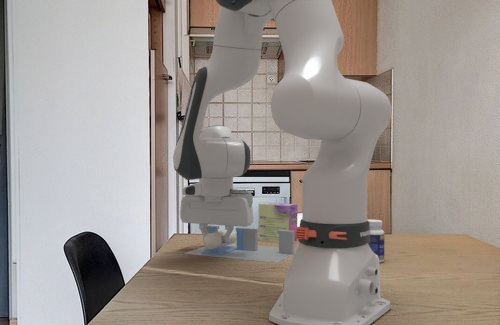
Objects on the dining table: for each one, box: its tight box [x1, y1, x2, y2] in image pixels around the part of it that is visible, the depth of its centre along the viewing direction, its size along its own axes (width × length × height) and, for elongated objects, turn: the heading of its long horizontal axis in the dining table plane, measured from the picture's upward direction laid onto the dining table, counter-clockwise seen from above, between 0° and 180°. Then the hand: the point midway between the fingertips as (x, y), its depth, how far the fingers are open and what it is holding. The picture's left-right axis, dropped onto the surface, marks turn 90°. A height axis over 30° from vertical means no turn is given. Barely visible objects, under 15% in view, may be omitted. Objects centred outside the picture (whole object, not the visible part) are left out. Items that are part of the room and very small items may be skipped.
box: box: [257, 202, 299, 244], centre depth 137 cm, size 10×6×12 cm, turn 58°
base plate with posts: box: [183, 224, 297, 264], centre depth 120 cm, size 18×26×7 cm
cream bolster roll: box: [202, 229, 237, 249], centre depth 122 cm, size 12×4×4 cm, turn 157°
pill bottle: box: [367, 219, 385, 264], centre depth 112 cm, size 6×6×10 cm
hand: (216, 241), depth 119 cm, fingers closed on cream bolster roll, 4 cm apart
